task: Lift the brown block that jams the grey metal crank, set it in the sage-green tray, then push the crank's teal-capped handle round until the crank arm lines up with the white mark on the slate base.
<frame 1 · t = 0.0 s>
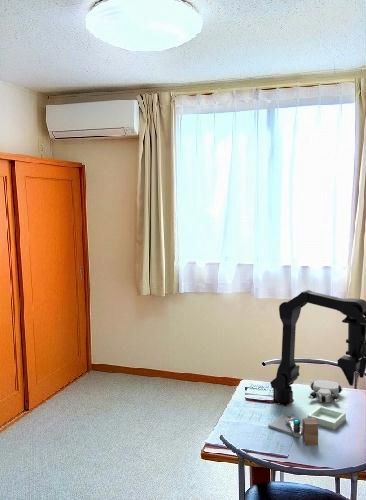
hand: (356, 381, 158), 15 cm above the table, tool pointing down, fingers open, 9 cm apart
crank base: (290, 425, 158), on the table
brown block: (310, 442, 147), on the table
robot toy: (325, 398, 181), on the table
tray: (326, 421, 161), on the table
crank: (293, 421, 154), point 4 cm above the table, hinge at -50.0°
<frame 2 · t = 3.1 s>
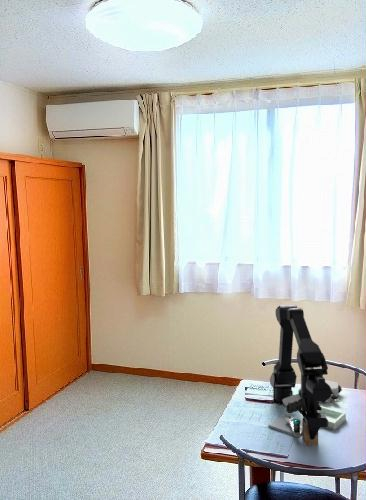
hand: (310, 435, 147), 2 cm above the table, tool pointing down, fingers closed on brown block, 4 cm apart
brown block: (310, 442, 147), on the table, touching gripper
everything else where it was.
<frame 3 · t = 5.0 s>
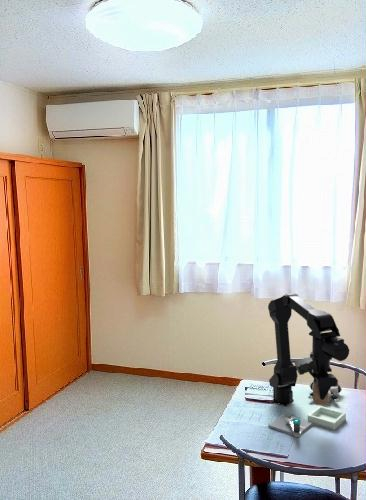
hand: (320, 396, 155), 11 cm above the table, tool pointing down, fingers closed on brown block, 4 cm apart
brown block: (320, 402, 156), point 9 cm above the table, touching gripper
everything else where it was.
when the fingers open (4 cm above the table, at t = 7.0 s): brown block drops 2 cm, resting on tray.
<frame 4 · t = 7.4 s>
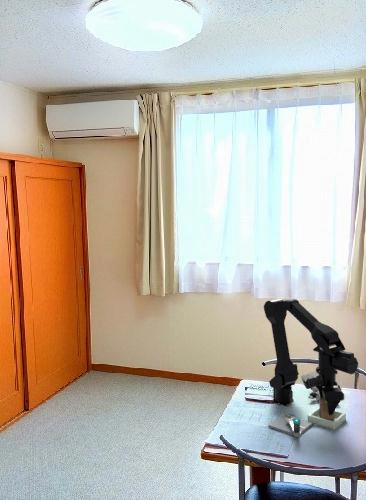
hand: (326, 409, 161), 4 cm above the table, tool pointing down, fingers open, 8 cm apart
brown block: (326, 419, 161), resting on tray
everything else where it was.
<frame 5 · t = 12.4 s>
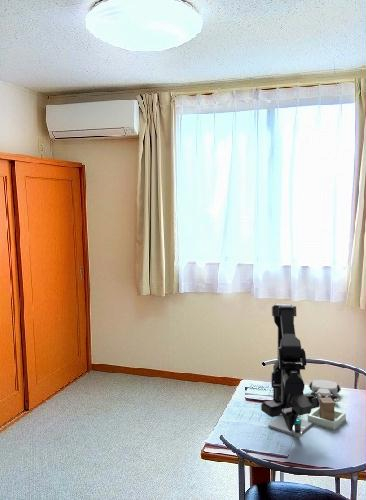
hand: (290, 430, 148), 3 cm above the table, tool pointing down, fingers closed
crank: (293, 421, 154), point 4 cm above the table, hinge at -48.2°, touching gripper
everything else where it was.
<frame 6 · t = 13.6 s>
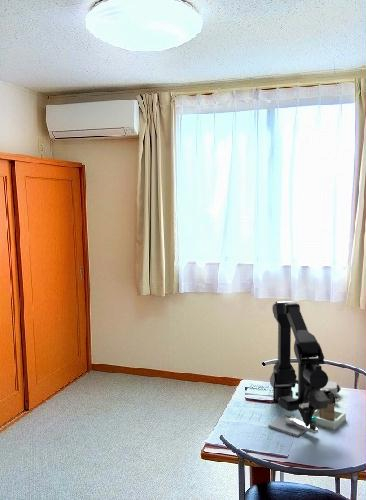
hand: (306, 426, 149), 4 cm above the table, tool pointing down, fingers closed
crank: (301, 420, 154), point 4 cm above the table, hinge at -11.5°, touching gripper
everything else where it was.
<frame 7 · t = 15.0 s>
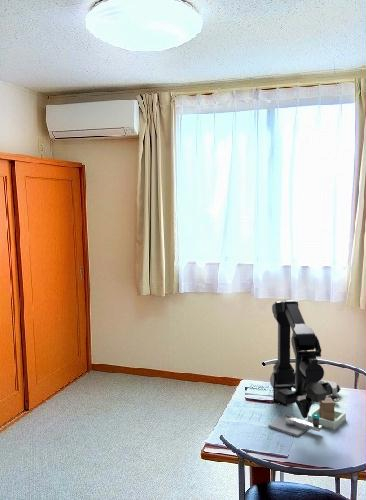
hand: (304, 417, 150), 7 cm above the table, tool pointing down, fingers closed
crank: (302, 419, 155), point 4 cm above the table, hinge at 1.4°
everything else where it was.
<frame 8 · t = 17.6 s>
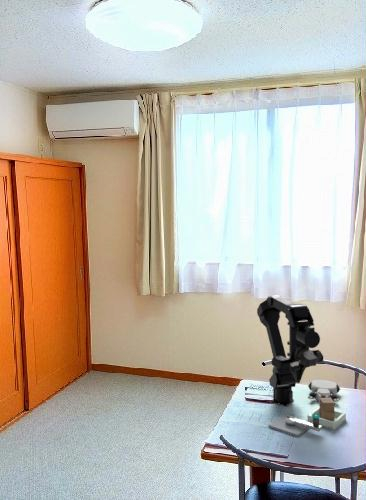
hand: (297, 382, 165), 12 cm above the table, tool pointing down, fingers closed
nothing on the table moved.
at the end: brown block 0.0 cm off-centre on the tray, point 0.5 cm above the tray's base; crank at +1° (first picture: -50°); brown block tilted 0° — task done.
